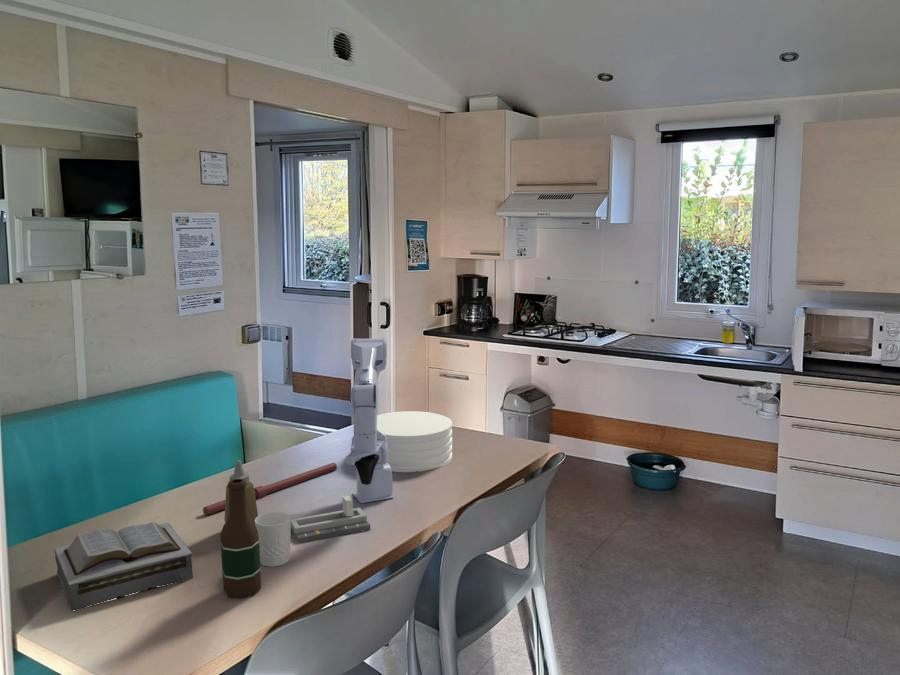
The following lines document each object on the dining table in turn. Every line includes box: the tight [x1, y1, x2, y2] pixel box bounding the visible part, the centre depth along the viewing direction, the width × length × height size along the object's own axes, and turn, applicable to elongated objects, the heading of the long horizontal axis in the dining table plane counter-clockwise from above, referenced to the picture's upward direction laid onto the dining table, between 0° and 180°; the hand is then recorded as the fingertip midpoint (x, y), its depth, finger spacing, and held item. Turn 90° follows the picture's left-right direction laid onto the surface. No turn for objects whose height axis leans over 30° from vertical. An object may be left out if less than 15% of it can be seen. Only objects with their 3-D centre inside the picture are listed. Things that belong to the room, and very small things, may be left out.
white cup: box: [255, 511, 292, 568], centre depth 170 cm, size 8×8×10 cm
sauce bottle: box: [220, 479, 262, 600], centre depth 155 cm, size 8×8×24 cm
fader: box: [341, 495, 355, 518], centre depth 189 cm, size 3×4×6 cm
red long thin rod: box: [202, 462, 338, 516], centre depth 212 cm, size 45×3×3 cm, turn 141°
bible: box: [54, 521, 194, 612], centre depth 162 cm, size 23×27×10 cm
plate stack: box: [377, 410, 453, 473], centre depth 240 cm, size 28×28×12 cm
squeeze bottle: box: [224, 460, 259, 524], centre depth 184 cm, size 8×8×18 cm
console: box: [291, 507, 371, 543], centre depth 188 cm, size 18×11×3 cm, turn 115°
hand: (366, 483), depth 190 cm, fingers closed
